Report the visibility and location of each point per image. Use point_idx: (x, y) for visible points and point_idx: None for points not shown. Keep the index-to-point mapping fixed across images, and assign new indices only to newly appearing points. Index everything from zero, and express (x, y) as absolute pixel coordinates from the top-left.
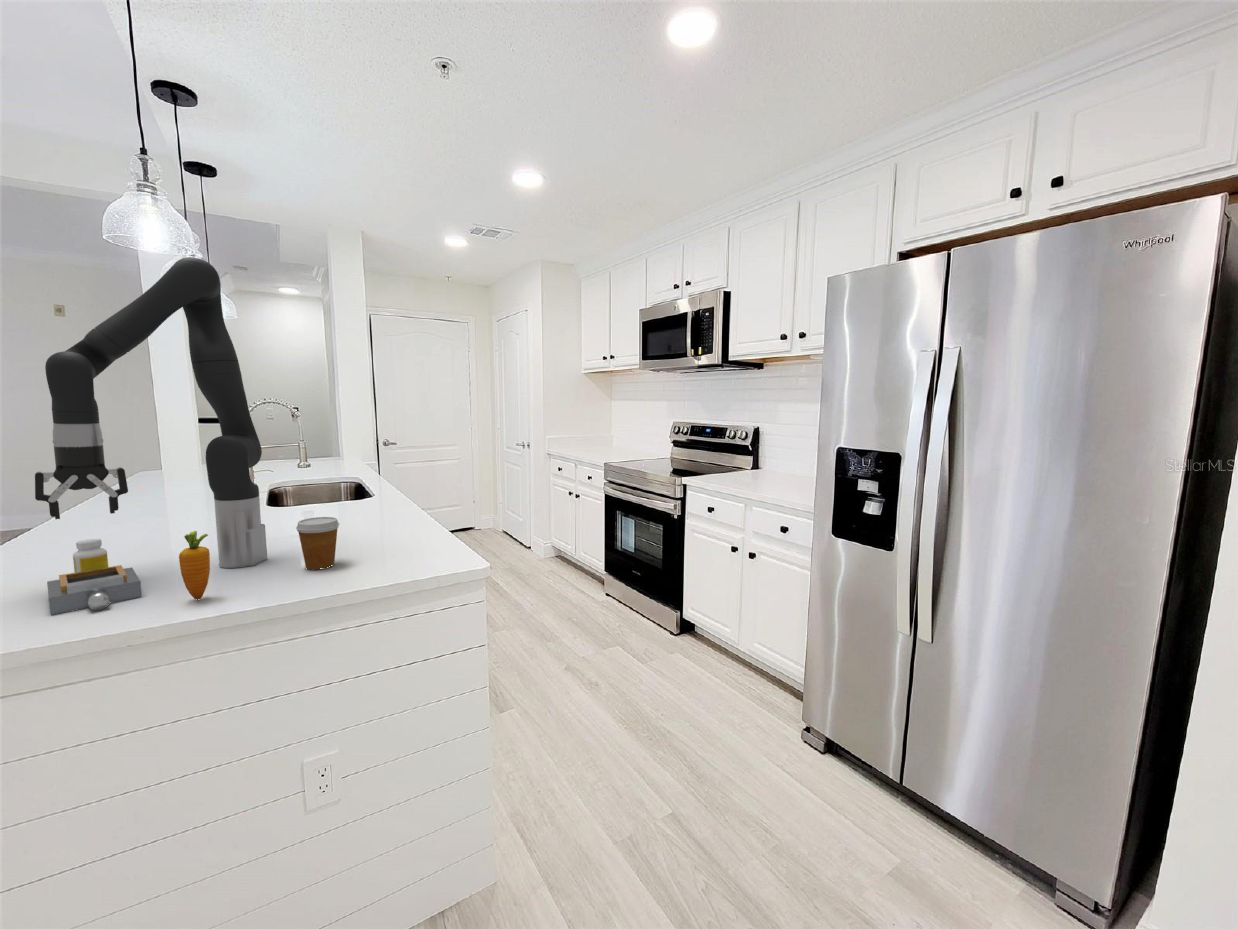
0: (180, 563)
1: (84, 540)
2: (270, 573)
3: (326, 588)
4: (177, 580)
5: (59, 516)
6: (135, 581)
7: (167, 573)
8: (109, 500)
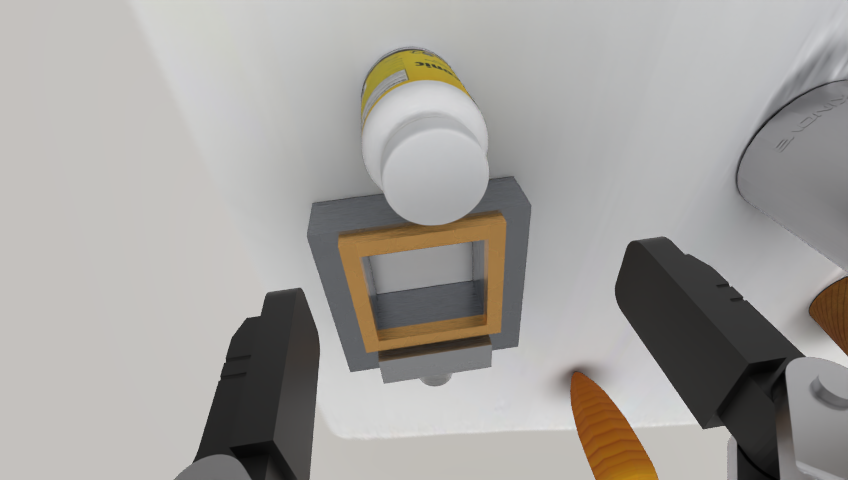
0: (590, 465)
1: (416, 152)
2: (754, 289)
3: None
4: (601, 229)
5: (317, 360)
6: (509, 344)
7: (612, 131)
8: (688, 393)
